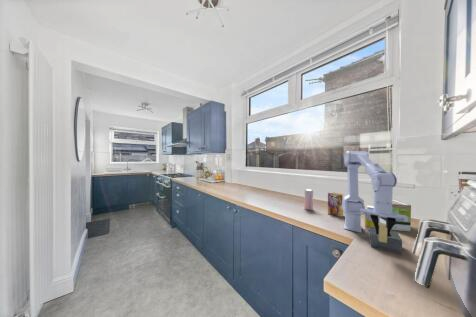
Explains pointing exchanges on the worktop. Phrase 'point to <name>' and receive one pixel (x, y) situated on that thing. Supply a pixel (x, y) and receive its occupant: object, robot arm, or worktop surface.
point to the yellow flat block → (382, 232)
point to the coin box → (392, 241)
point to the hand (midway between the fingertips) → (382, 234)
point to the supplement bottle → (369, 219)
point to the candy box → (335, 204)
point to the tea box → (402, 210)
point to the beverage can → (308, 199)
